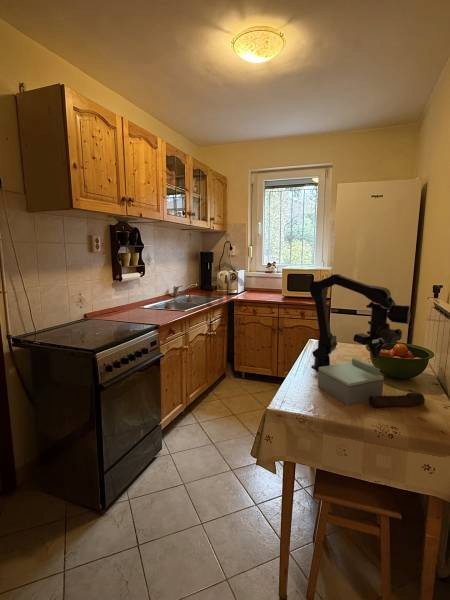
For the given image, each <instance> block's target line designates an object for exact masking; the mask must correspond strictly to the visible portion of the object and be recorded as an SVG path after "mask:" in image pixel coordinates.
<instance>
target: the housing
mask: <svg viewBox="0 0 450 600" xmlns="http://www.w3.org/2000/svg"><path fill="white" fill-rule="evenodd" d="M317 377H318V379H317V387H318V388H320V389H321V390H323V391H324V392H327V394H329V395H331V396H333V397H334V398H336V399H337V400H339V401H341V402H342V403H344V404H345V405H347V406H350V405H353V404H358V403H361V402H365V401H369V397H370V395H371V396H383V388H384V379H382V380H377V381H373V382H368V383H363V384H359V385H354V386H347V385H345V384H343V383H342V382H340V381H338V380H336V379H334V378H333V377H331V376H329V375H327V374H325V373H324V372H322V371H320V370H319V371H318V374H317Z"/></svg>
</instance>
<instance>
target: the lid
mask: <svg viewBox="0 0 450 600" xmlns="http://www.w3.org/2000/svg"><path fill="white" fill-rule="evenodd" d="M319 370H320V371H322V372H324V373H325V374H327V375H329V376H331V377H333V378H334V379H336V380H338V381H340V382H342V383H343V384H345V385H347V386H354V385H359V384H363V383H368V382H373V381H377V380H382V379H383V380H384V379H385V378H384V375H381V374H380V370H381V369H380V368H379V367H376V366H374V365H372V364H369V363H367V362H365V361H363V360H361V359H358V358H356V357H353V358H351V361H347V362H342V363H336V364H330V365H329V366H323V367H319Z"/></svg>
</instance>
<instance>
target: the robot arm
mask: <svg viewBox="0 0 450 600" xmlns="http://www.w3.org/2000/svg"><path fill="white" fill-rule="evenodd" d="M335 285H336V286H340V287H342V288H344V289H347V290H350V291H352V292H355V293H358V294H360V295H363V296H364V298H365V297H366V299H368V300H370V302H369V303H368V304H367V305H366V306H365V308H368V309H371V313H370V314H371V315H370V320H368V322H367V324H368V325H369V330H367V331H366V334H365V333H356V334H354V335H353V339H352V340H353V342H355V343H358V344H360V345H363V346H368V348H369V350H370V352H371V355H372V357H373V359H377V358H378V357H379V355H380V353H381V351H382V349H383V347H384V346H386V345H392V344H397V342H398V341H401V340H402V337H403V330H402V329H400V328H398V329H397V328H396V329H393V328H392V329H391V328H390V322H391V323H397V324H405V325H409V323H410V322H411V321H410V320H411V309H410V308H411V306H410V305H408V304H406V305H401V304H397V303H396V302H395V301H394V299H393V298H392V296H391V291H390V289H389V288H387V287H383V286H379V285H372V284H371V285H369V284H366V283H363V282H360V281H358V280H355V279H353V278H352V279H351V278H349V277H346V276H344V275H341V274H340V273H335V274H332V275H330V276H328V277H326V278H324V279H319V280H314V281H312V282H311V283H310V284H309V287H308V289H309V292H310V296H311V298H312V299H313V301H314V305H315V312H316V317H317V325H318V330H319V331H318V332H319V336H318V340H317V348H316V349H314V350H313V351H312V352H311V353H312V357H314V364H313V365H311V368H313V369H315V370H317V371H318V372H319V367H323V366H329V365H331V358H330V355H331V354H332V353H333V352H334V351H335V350H336V349H337V346H338V342H337V335H333V334H332V332H331V326H330V319H329V313H328V306H327V305H328V304H327V297H328V293H329V292H328V289H329V288H331V287H333V286H335ZM388 319H389V321H390V322H389V323H388Z"/></svg>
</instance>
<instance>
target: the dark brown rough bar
mask: <svg viewBox="0 0 450 600" xmlns="http://www.w3.org/2000/svg"><path fill="white" fill-rule="evenodd" d="M425 400H426V399H425V396H424V394H423V393H420V392H407V393H406V394H404V395H403V394H401V395H382V396H371V395H370V397H369V400H368V403H369V405H370V407H371V408H372V409H375V408H377V409H379V408H380V407H383V408H384V407H403V406H405V407H406V406H407V407H409V408H417V407H421V406H424V405H425V403H426V402H425Z"/></svg>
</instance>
